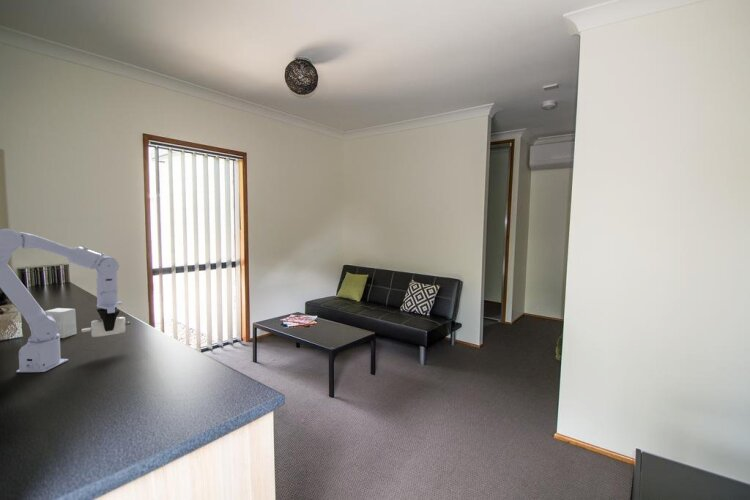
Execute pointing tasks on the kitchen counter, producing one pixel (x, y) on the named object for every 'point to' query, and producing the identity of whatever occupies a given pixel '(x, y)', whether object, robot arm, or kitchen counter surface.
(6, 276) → the robot arm
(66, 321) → the small box
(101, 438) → the kitchen counter surface
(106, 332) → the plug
